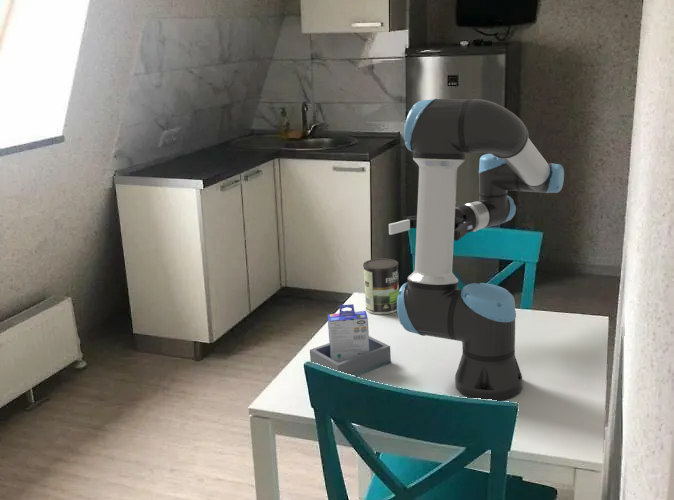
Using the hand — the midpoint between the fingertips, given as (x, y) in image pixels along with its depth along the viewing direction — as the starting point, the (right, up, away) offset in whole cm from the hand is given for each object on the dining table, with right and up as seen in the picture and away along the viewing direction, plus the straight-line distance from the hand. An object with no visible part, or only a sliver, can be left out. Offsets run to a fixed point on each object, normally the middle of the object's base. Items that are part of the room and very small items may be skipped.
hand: (406, 234), depth 185 cm
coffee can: (-4, -21, +34) cm, 41 cm away
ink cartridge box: (-14, -32, -1) cm, 35 cm away
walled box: (-14, -32, -1) cm, 35 cm away
